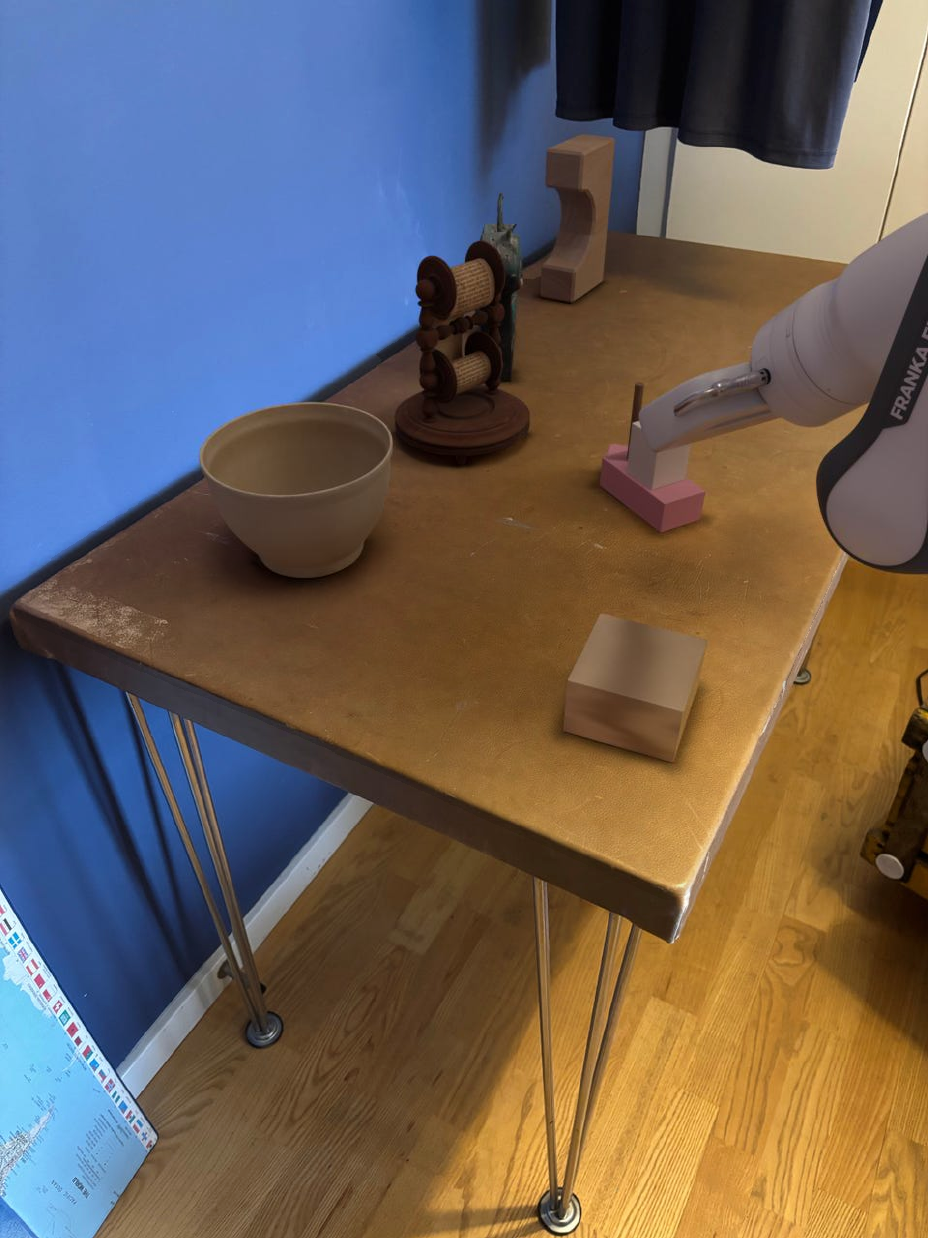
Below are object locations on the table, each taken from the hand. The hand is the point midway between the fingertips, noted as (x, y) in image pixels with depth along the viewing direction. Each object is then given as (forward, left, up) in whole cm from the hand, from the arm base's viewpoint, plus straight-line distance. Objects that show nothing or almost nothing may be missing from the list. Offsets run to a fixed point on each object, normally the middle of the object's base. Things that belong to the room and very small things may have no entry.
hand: (704, 428), depth 79 cm
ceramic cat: (+32, -32, -11) cm, 47 cm away
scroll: (+27, -10, -11) cm, 31 cm away
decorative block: (+30, -59, -11) cm, 67 cm away
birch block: (-1, +25, -11) cm, 27 cm away
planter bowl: (+31, +16, -11) cm, 37 cm away
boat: (+5, -4, -11) cm, 12 cm away
